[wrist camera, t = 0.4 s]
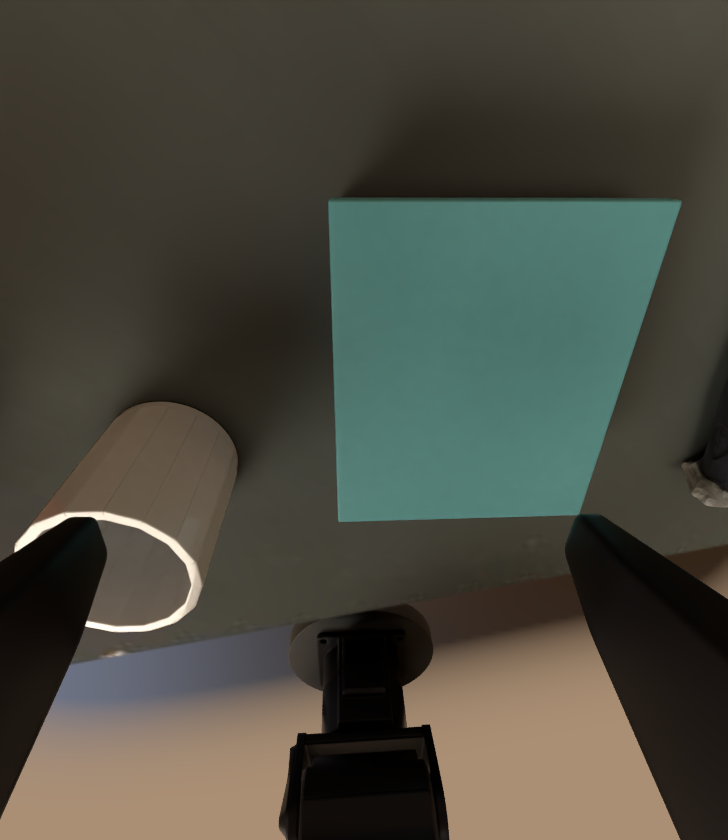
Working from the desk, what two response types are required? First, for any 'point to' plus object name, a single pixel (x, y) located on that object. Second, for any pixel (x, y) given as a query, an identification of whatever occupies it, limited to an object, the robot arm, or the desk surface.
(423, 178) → the desk surface
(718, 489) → the black pouch
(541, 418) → the teal flat box
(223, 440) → the beige cup
